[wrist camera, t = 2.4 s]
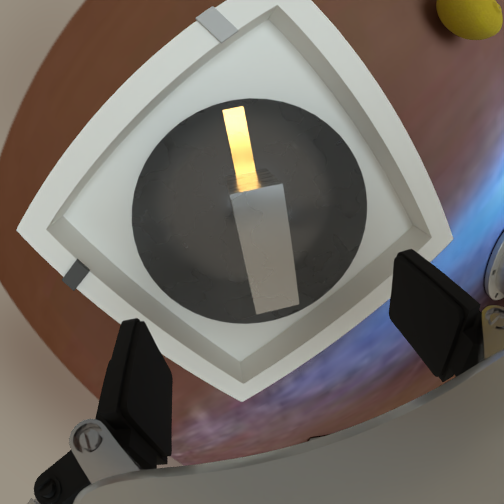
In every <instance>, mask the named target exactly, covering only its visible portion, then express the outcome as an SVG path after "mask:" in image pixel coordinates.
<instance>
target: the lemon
mask: <svg viewBox="0 0 504 504" xmlns="http://www.w3.org/2000/svg"><path fill="white" fill-rule="evenodd" d="M436 9H437V13H438V16H439V18H440V20H441V22H442V23H443V24H444V26H445V27H446V28H447V29H449V30H450V31H451V32H452V33H454V34H455V35H457V36H459V37H462V38H465V39H469V40H483V39H487V38H489V37H491V36H494V35H495V34H497V33H498V32H499V30H500V29H501V27H502V22H503V18H502V12H501V7H500V5H499V4H497V2H496V1H495V0H437V2H436Z"/></svg>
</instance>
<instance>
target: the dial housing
mask: <svg viewBox="0 0 504 504" xmlns="http://www.w3.org/2000/svg"><path fill="white" fill-rule="evenodd" d="M196 20H197V21H196V22H194V23H193V24H192V25H190V26H189V27H188V28H186V29H185V30H184V31H183V32H181V33H180V34H179V35H177V36H176V37H175V38H174V39H172V40H171V41H170V42H169V43H168V44H166V45H165V46H164V47H163V48H162V49H160V50H159V51H158V52H157V53H156V54H155V55H154V56H152V57H151V58H150V59H149V60H148V61H147V62H146V63H145V64H144V65H142V66H141V67H140V68H139V69H138V70H137V71H136V72H135V73H134V74H133V75H132V76H131V77H130V78H129V79H128V80H127V81H126V82H125V83H124V84H123V85H122V86H121V87H120V88H119V89H118V90H117V91H116V92H115V93H114V94H113V95H112V96H111V97H110V98H109V100H108V101H107V102H106V103H105V104H104V105H103V106H102V107H101V108H100V109H99V111H98V112H97V113H96V114H95V115H94V116H93V118H92V119H91V120H90V121H89V122H88V123H87V125H86V126H85V127H84V128H83V130H82V131H81V132H80V133H79V135H78V136H77V137H76V138H75V140H74V141H73V142H72V144H71V145H70V146H69V147H68V149H67V150H66V152H65V153H64V154H63V156H62V157H61V158H60V160H59V161H58V163H57V164H56V165H55V167H54V168H53V170H52V171H51V173H50V174H49V176H48V177H47V179H46V180H45V182H44V183H43V185H42V186H41V188H40V190H39V191H38V193H37V194H36V196H35V198H34V199H33V201H32V203H31V204H30V206H29V208H28V210H27V211H26V213H25V215H24V217H23V218H22V220H21V222H20V224H19V226H18V228H17V231H18V232H19V233H20V235H21V236H22V237H23V238H24V239H25V240H26V241H27V242H28V243H29V244H30V245H31V246H32V247H33V248H34V249H35V250H36V251H37V252H38V253H39V254H40V255H41V256H42V257H43V258H44V259H45V260H46V261H47V262H48V263H49V264H50V265H51V266H52V267H54V268H55V269H56V270H57V271H58V272H59V273H60V274H61V275H62V276H63V279H62V281H63V282H64V283H66V284H67V285H68V286H69V287H70V288H71V289H72V290H73V291H74V290H75V289H76V288H77V289H78V290H79V291H80V292H81V293H83V294H84V295H85V296H86V297H87V298H88V299H90V300H91V301H92V302H93V303H94V304H96V305H97V306H98V307H99V308H101V309H102V310H103V311H104V312H106V313H107V314H108V315H109V316H111V317H112V318H113V319H115V320H116V321H117V322H118V323H120V324H121V323H122V321H124V320H129V319H134V318H138V319H139V320H140V321H144V322H145V323H146V325H147V327H148V329H149V331H150V333H151V335H152V337H153V339H154V341H155V343H156V345H157V347H158V349H159V350H160V352H161V354H163V355H164V356H166V357H167V358H169V359H170V360H172V361H174V362H175V363H177V364H178V365H180V366H181V367H183V368H184V369H186V370H188V371H189V372H191V373H192V374H194V375H196V376H197V377H199V378H201V379H202V380H204V381H206V382H207V383H209V384H211V385H212V386H214V387H216V388H218V389H219V390H221V391H223V392H225V393H226V394H228V395H230V396H232V397H234V398H235V399H237V400H239V401H241V402H243V401H244V400H246V399H248V398H250V397H251V396H253V395H255V394H256V393H258V392H260V391H261V390H263V389H265V388H266V387H268V386H270V385H271V384H273V383H274V382H276V381H278V380H279V379H281V378H282V377H284V376H285V375H287V374H289V373H290V372H292V371H293V370H295V369H296V368H298V367H299V366H301V365H302V364H304V363H305V362H307V361H308V360H310V359H311V358H312V357H314V356H315V355H317V354H318V353H320V352H321V351H322V350H324V349H325V348H327V347H328V346H329V345H331V344H332V343H334V342H335V341H336V340H338V339H339V338H340V337H342V336H343V335H344V334H346V333H347V332H348V331H350V330H351V329H352V328H354V327H355V326H356V325H357V324H359V323H360V322H361V321H363V320H364V319H365V318H366V317H368V316H369V315H370V314H371V313H373V312H374V311H375V310H376V309H378V308H379V307H380V306H381V305H382V304H384V303H385V302H386V301H387V300H388V299H390V298H391V289H392V278H393V265H394V259H395V257H397V254H398V253H399V252H402V251H405V250H408V249H413V250H414V251H416V252H417V253H418V254H420V255H421V256H422V257H424V258H425V259H426V260H427V261H429V262H431V261H432V260H433V259H434V258H435V257H436V256H437V255H438V254H439V253H440V252H441V251H442V250H443V249H444V248H445V247H446V246H447V245H448V244H449V243H450V242H451V241H452V240H453V236H452V233H451V230H450V227H449V225H448V222H447V219H446V217H445V214H444V211H443V209H442V206H441V204H440V201H439V199H438V196H437V194H436V191H435V189H434V187H433V184H432V182H431V180H430V178H429V175H428V173H427V171H426V169H425V167H424V165H423V163H422V161H421V158H420V156H419V154H418V152H417V150H416V148H415V147H414V145H413V143H412V141H411V139H410V137H409V135H408V133H407V131H406V130H405V128H404V126H403V124H402V122H401V121H400V119H399V117H398V115H397V114H396V112H395V110H394V109H393V107H392V105H391V104H390V102H389V101H388V99H387V97H386V96H385V94H384V93H383V91H382V89H381V88H380V86H379V85H378V83H377V82H376V80H375V79H374V77H373V76H372V75H371V73H370V72H369V70H368V69H367V67H366V66H365V65H364V63H363V62H362V60H361V59H360V58H359V56H358V55H357V54H356V52H355V51H354V50H353V48H352V47H351V46H350V45H349V43H348V42H347V41H346V40H345V38H344V37H343V36H342V35H341V33H340V32H339V31H338V30H337V29H336V27H335V26H334V25H333V24H332V23H331V22H330V20H329V19H328V18H327V17H326V16H325V15H324V14H323V12H322V11H321V10H320V9H319V8H318V7H317V6H316V5H315V4H314V3H313V2H312V1H311V0H227V1H225V2H223V3H222V4H220V5H219V6H217V7H216V8H214V7H213V6H212V7H211V8H209V9H208V10H206V11H205V12H203V13H202V14H200V15H199V16H198V17H196ZM247 98H256V99H270V100H276V101H282V102H286V103H289V104H292V105H295V106H298V107H300V108H302V109H304V110H306V111H308V112H310V113H312V114H314V115H316V116H317V117H319V118H320V119H322V120H323V121H324V122H326V123H327V124H328V125H330V126H331V127H332V128H333V129H334V130H335V131H336V132H337V133H338V134H339V135H340V136H341V137H342V139H343V140H344V141H345V142H346V144H347V145H348V146H349V148H350V150H351V151H352V153H353V155H354V156H355V158H356V160H357V162H358V165H359V167H360V170H361V172H362V175H363V179H364V183H365V187H366V196H367V218H366V225H365V231H364V234H363V238H362V241H361V244H360V247H359V249H358V251H357V254H356V256H355V258H354V259H353V261H352V263H351V265H350V267H349V268H348V269H347V271H346V272H345V274H344V275H343V276H342V278H341V279H340V280H339V281H338V282H337V283H336V284H335V285H334V286H333V288H332V289H330V290H329V291H328V292H327V293H326V294H325V295H324V296H322V297H321V298H320V299H318V300H317V301H315V302H314V303H313V304H311V305H309V306H308V307H306V308H304V309H302V310H300V311H298V312H296V313H294V314H291V315H289V316H286V317H283V318H280V319H276V320H273V321H267V322H262V323H251V324H237V323H227V322H221V321H216V320H213V319H209V318H206V317H203V316H201V315H198V314H196V313H193V312H191V311H190V310H188V309H186V308H184V307H182V306H181V305H179V304H178V303H177V302H175V301H174V300H172V299H171V298H170V297H169V296H168V295H167V294H166V293H164V292H163V291H162V290H161V289H160V288H159V286H158V285H157V284H156V283H155V282H154V280H153V279H152V278H151V276H150V275H149V273H148V272H147V270H146V268H145V267H144V265H143V263H142V260H141V258H140V256H139V254H138V251H137V247H136V244H135V240H134V236H133V229H132V203H133V196H134V191H135V187H136V184H137V181H138V178H139V175H140V173H141V171H142V169H143V166H144V164H145V162H146V160H147V159H148V157H149V156H150V154H151V153H152V151H153V150H154V148H155V147H156V145H157V144H158V143H159V142H160V141H161V140H162V139H163V138H164V137H165V135H166V134H167V133H168V132H170V131H171V130H172V129H173V128H174V127H175V126H177V125H178V124H179V123H180V122H182V121H183V120H185V119H186V118H188V117H190V116H191V115H193V114H195V113H196V112H198V111H201V110H203V109H205V108H208V107H210V106H212V105H216V104H219V103H223V102H227V101H231V100H238V99H247Z"/></svg>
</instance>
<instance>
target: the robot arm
mask: <svg viewBox="0 0 504 504" xmlns="http://www.w3.org/2000/svg"><path fill="white" fill-rule="evenodd" d="M485 290H486V293H487V294H488V296H489V297H491V298H492V299H494V300H499V299H502V298H504V232H503V234H502V235H501V236H500V238H499V240H498V242H497V243H496V245H495V248H494V250H493V252H492V254H491V257H490V260H489V263H488V266H487V270H486V275H485ZM479 308H480V304H479V303H478V302H477V301H476V300H475V299H473V298H472V297H471V296H470V295H469V294H468V293H466V292H465V291H464V290H463V289H462V288H461V287H459V286H458V285H457V284H456V283H455V282H453V281H452V280H451V279H450V278H449V277H447V276H446V275H445V274H444V273H442V272H441V271H440V270H439V269H438V268H436V267H435V266H434V265H432V264H431V263H430V262H429V261H427V260H426V259H425V258H424V257H422V256H421V255H420V254H418V253H417V252H416V251H414V250H413V249H408V250H405V251H402V252H399V253H398V254H397V257H395V259H394V265H393V278H392V289H391V299H390V308H389V316H390V319H391V321H392V322H393V323H394V325H395V326H396V327H397V328H398V329H399V331H400V332H401V333H402V334H403V336H404V337H405V338H406V339H407V341H408V342H409V343H410V344H411V346H412V347H413V348H414V350H415V351H416V352H417V353H418V355H419V356H420V357H421V359H422V360H423V361H424V363H425V364H426V365H427V366H428V368H429V369H430V370H431V372H432V373H433V374H434V375H435V376H436V377H438V376H439V378H440V379H441V380H442V382H444V381H446V380H447V379H449V378H451V377H452V376H453V375H454V374H455V376H456V377H455V378H453V379H452V380H450V381H448V382H447V383H445V384H443V385H441V386H439V387H438V388H436V389H434V390H432V391H430V392H428V393H427V394H425V395H423V396H421V397H419V398H417V399H415V400H413V401H411V402H409V403H407V404H405V405H402V406H400V407H398V408H396V409H394V410H392V411H389V412H387V413H385V414H382V415H380V416H378V417H375V418H373V419H371V420H368V421H366V422H363V423H361V424H358V425H355V426H353V427H350V428H347V429H345V430H342V431H339V432H336V433H333V434H330V435H327V436H324V437H321V438H318V439H315V440H311V441H308V442H304V443H301V444H297V445H294V446H290V447H286V448H282V449H278V450H274V451H270V452H266V453H261V454H257V455H252V456H247V457H242V458H236V459H230V460H224V461H218V462H211V463H204V464H197V465H188V466H179V467H167V468H159V469H156V468H157V465H161V464H167V456H171V452H172V445H171V423H172V374H171V371H170V369H169V367H168V365H167V363H166V362H165V360H164V358H163V356H162V354H161V352H160V350H159V349H158V347H157V345H156V343H155V341H154V339H153V337H152V335H151V333H150V331H149V329H148V327H147V325H146V323H145V322H144V321H140V320H139V319H138V318H134V319H129V320H124V321H122V323H121V326H120V330H119V333H118V337H117V340H116V344H115V347H114V351H113V355H112V358H111V360H110V361H109V364H108V367H107V371H106V375H105V379H104V383H103V387H102V392H101V396H100V400H99V405H98V410H97V414H96V419H88V420H84V421H82V422H80V423H79V424H77V426H75V428H74V429H73V430H72V432H71V435H70V438H69V445H70V448H71V450H70V451H69V452H68V453H67V454H66V455H65V456H63V457H62V458H61V459H60V460H58V461H57V462H56V463H55V464H53V465H52V466H51V467H50V468H48V469H47V470H46V471H45V472H43V473H42V474H41V475H40V476H39V477H38V478H37V480H36V482H35V486H34V494H35V497H36V499H35V500H33V499H30V501H29V502H28V504H504V307H502V306H498V305H491V306H487V307H486V308H485V309H484V310H483V311H482V312H480V311H479Z"/></svg>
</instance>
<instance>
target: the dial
mask: <svg viewBox="0 0 504 504" xmlns="http://www.w3.org/2000/svg"><path fill="white" fill-rule="evenodd" d="M366 218H367V196H366V187H365V183H364V179H363V175H362V172H361V170H360V167H359V165H358V162H357V160H356V158H355V156H354V155H353V153H352V151H351V150H350V148H349V146H348V145H347V144H346V142H345V141H344V140H343V139H342V137H341V136H340V135H339V134H338V133H337V132H336V131H335V130H334V129H333V128H332V127H331V126H330V125H328V124H327V123H326V122H324V121H323V120H322V119H320V118H319V117H317V116H316V115H314V114H312V113H310V112H308V111H306V110H304V109H302V108H300V107H298V106H295V105H292V104H289V103H286V102H282V101H276V100H270V99H256V98H247V99H238V100H231V101H227V102H223V103H219V104H216V105H212V106H210V107H208V108H205V109H203V110H201V111H198V112H196V113H195V114H193V115H191V116H190V117H188V118H186V119H185V120H183V121H182V122H180V123H179V124H178V125H177V126H175V127H174V128H173V129H172V130H171V131H170V132H168V133H167V134H166V135H165V137H164V138H163V139H162V140H161V141H160V142H159V143H158V144H157V145H156V147H155V148H154V150H153V151H152V153H151V154H150V156H149V157H148V159H147V160H146V162H145V164H144V166H143V169H142V171H141V173H140V175H139V178H138V181H137V184H136V187H135V191H134V196H133V203H132V229H133V236H134V240H135V244H136V247H137V251H138V254H139V256H140V258H141V260H142V263H143V265H144V267H145V268H146V270H147V272H148V273H149V275H150V276H151V278H152V279H153V280H154V282H155V283H156V284H157V285H158V286H159V288H160V289H161V290H162V291H163V292H164V293H166V294H167V295H168V296H169V297H170V298H171V299H172V300H174V301H175V302H177V303H178V304H179V305H181V306H182V307H184V308H186V309H188V310H190V311H191V312H193V313H196V314H198V315H201V316H203V317H206V318H209V319H213V320H216V321H221V322H227V323H237V324H251V323H262V322H267V321H273V320H276V319H280V318H283V317H286V316H289V315H291V314H294V313H296V312H298V311H300V310H302V309H304V308H306V307H308V306H309V305H311V304H313V303H314V302H315V301H317V300H318V299H320V298H321V297H322V296H324V295H325V294H326V293H327V292H328V291H329V290H330V289H332V288H333V286H334V285H335V284H336V283H337V282H338V281H339V280H340V279H341V278H342V276H343V275H344V274H345V272H346V271H347V269H348V268H349V267H350V265H351V263H352V261H353V259H354V258H355V256H356V254H357V251H358V249H359V247H360V244H361V241H362V238H363V234H364V231H365V225H366Z"/></svg>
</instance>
